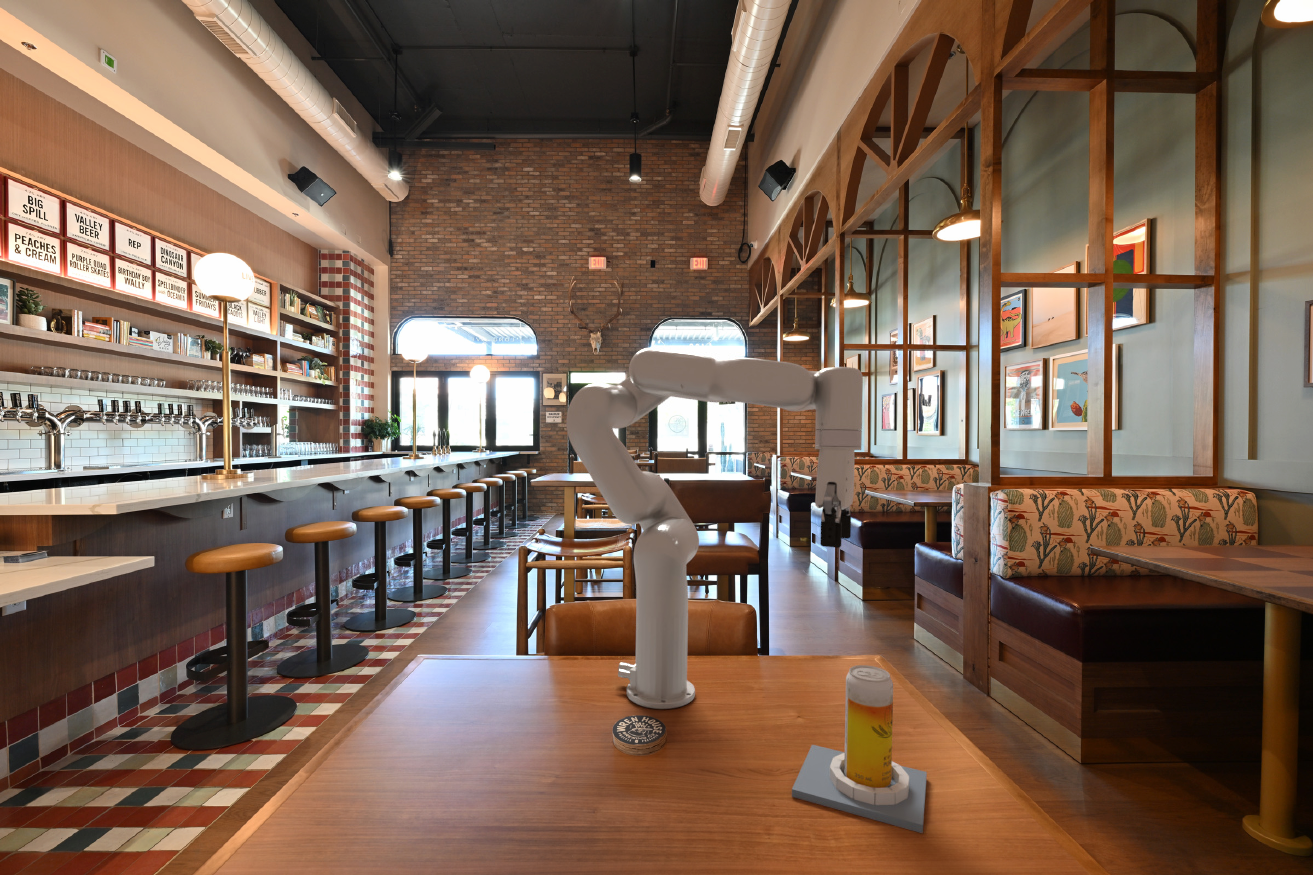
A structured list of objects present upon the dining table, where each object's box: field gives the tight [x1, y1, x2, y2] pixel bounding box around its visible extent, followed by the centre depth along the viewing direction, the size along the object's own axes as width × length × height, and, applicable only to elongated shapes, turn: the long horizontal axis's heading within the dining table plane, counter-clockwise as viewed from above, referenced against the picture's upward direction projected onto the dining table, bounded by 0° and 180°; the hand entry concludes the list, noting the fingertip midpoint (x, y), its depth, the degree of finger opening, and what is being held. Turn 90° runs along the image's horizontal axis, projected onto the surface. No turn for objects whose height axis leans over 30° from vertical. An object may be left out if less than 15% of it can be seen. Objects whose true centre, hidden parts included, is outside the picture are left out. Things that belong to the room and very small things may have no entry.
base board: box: [791, 744, 928, 834], centre depth 83 cm, size 16×13×2 cm
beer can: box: [844, 664, 894, 788], centre depth 83 cm, size 6×6×15 cm
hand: (836, 541), depth 102 cm, fingers open, 9 cm apart
